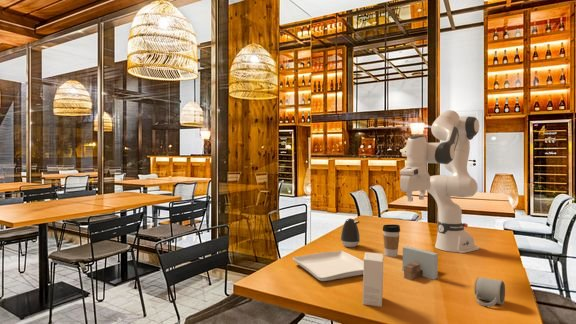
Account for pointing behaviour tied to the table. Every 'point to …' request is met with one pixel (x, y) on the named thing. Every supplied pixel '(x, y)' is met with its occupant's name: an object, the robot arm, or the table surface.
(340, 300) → the table surface
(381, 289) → the skincare box
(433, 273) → the grey flat block
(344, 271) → the square plate
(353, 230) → the pump dispenser
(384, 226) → the coffee cup
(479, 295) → the ceramic mug
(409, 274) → the walnut rail
